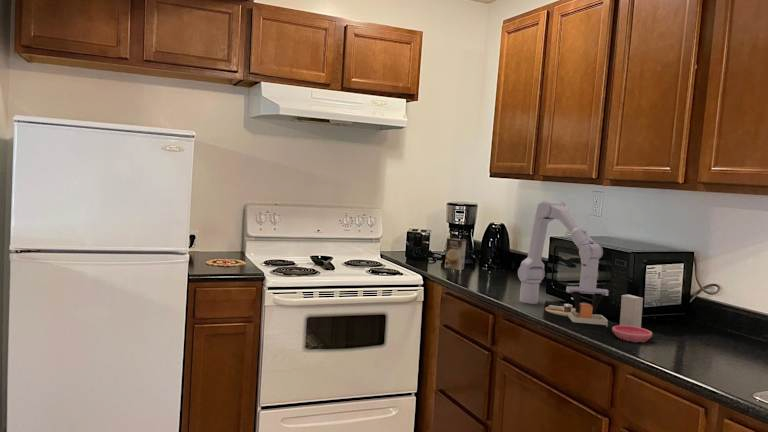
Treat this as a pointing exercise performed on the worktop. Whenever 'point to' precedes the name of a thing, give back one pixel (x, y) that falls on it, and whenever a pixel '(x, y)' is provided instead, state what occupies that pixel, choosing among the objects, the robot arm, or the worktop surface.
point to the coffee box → (455, 253)
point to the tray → (588, 319)
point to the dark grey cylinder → (564, 306)
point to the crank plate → (560, 311)
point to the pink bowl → (632, 333)
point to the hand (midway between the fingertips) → (585, 313)
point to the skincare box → (631, 310)
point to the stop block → (585, 311)
